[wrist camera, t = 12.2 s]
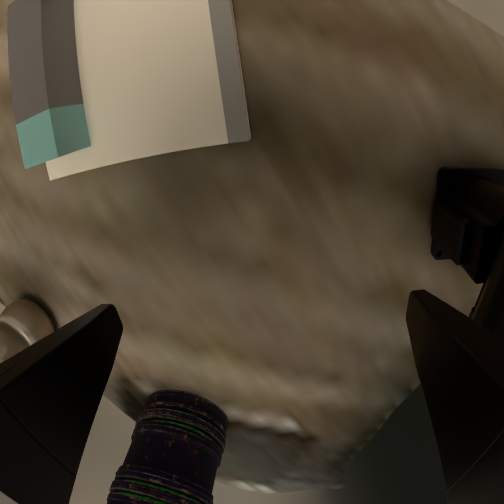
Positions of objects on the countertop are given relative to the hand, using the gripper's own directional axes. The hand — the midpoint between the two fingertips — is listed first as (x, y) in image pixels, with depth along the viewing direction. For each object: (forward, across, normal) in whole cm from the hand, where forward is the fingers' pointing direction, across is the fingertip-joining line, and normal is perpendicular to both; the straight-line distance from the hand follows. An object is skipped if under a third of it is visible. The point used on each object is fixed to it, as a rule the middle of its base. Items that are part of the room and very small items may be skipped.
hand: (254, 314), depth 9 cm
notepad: (+12, +8, -10) cm, 18 cm away
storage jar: (+12, +12, +24) cm, 29 cm away
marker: (+11, +13, -11) cm, 20 cm away
